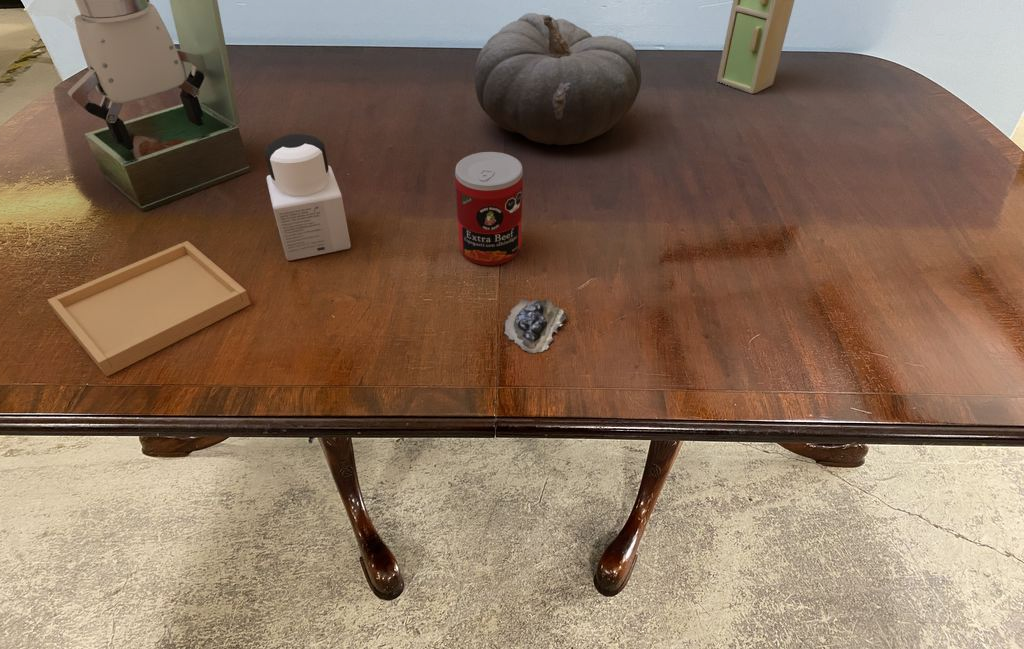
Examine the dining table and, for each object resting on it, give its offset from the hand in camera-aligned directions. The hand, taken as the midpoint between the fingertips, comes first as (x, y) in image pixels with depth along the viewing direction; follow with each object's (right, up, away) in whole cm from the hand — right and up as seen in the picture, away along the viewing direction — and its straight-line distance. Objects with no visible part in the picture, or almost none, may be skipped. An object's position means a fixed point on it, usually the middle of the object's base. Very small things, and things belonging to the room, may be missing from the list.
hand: (162, 134), depth 91 cm
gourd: (+55, +6, +18) cm, 58 cm away
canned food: (+45, -17, -8) cm, 49 cm away
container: (+23, -15, -7) cm, 28 cm away
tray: (+8, -24, -18) cm, 31 cm away
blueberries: (+50, -26, -19) cm, 60 cm away
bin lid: (+6, +11, -1) cm, 12 cm away
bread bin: (0, -5, +4) cm, 6 cm away
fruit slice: (0, -4, +4) cm, 6 cm away
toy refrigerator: (+90, +18, +31) cm, 97 cm away
